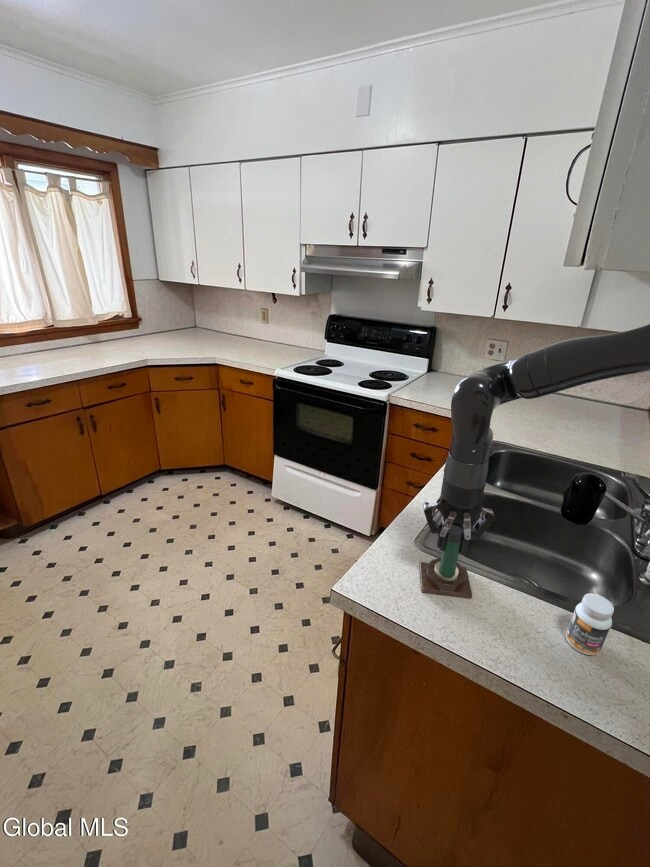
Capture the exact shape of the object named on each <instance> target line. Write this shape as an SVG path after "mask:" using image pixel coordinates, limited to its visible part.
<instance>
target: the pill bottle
mask: <svg viewBox="0 0 650 867" xmlns="http://www.w3.org/2000/svg"><path fill="white" fill-rule="evenodd" d="M614 612H615V607H614V604H612V602H611V601H610V600H608V599H607V598H606V597H604V596H602V595H600V594H597V593H592V592H590V593H586V594H584V595H583V597H582V600H581V601H580V602H579V603H577V605H576V606H575V608H574V611H573V614H572V616H571V618H570V621H569V623H568V626H567V629H566V632H565V638H566V641H567V643H568V644H569V645H570V646H571V647H572V648H573V649H575V651H577V652H579V653H581V654H584V655H586V656H587V655H588V656H596V655H598V654H599V653H601V650H602V649H603V647H604V643H605V641H606V639H607V637H608V635H609V633H610V630H611V628H612V626H613V620H612V619H613V618H612V617H613V614H614Z"/></svg>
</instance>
